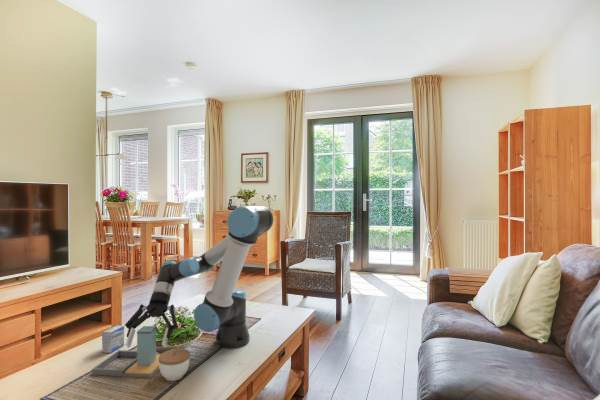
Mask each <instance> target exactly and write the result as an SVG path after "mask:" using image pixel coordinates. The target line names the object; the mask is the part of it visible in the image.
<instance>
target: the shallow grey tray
mask: <svg viewBox="0 0 600 400" xmlns="http://www.w3.org/2000/svg"><path fill="white" fill-rule="evenodd" d="M119 357H128V358H129V357H130V358H134V359H133V360H132V361H130V362H129V363H128V364H126V365H125V366H124V367H123V368H122V369H119V368H118V369H117V368H105V367H106V366H108V365H109V364H110V363H112V362H114V361H115V360H116V359H117V358H119ZM136 362H137V350H126V349H125V350H122V349H121V350H120V349H117V350H116V351H114V352H113V353H112V354H111V355H109V356H108V357H107V358H106V359H103V361H101V362H100V363H98V364H97V365H96V366H94V367H93V368H91V375H93V376H108V377H109V376H111V377H112V376H113V377H123V376H122V374H123V373H125V371H126V370H128V369H129V368H130V367H131V366H132V365H134V364H135V363H136Z"/></svg>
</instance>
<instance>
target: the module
mask: <svg viewBox="0 0 600 400" xmlns="http://www.w3.org/2000/svg"><path fill="white" fill-rule="evenodd" d="M136 333H137V334H136V336H137V337H136V339H137V340H136V351H137V366H151V365H152V364H153V363H154V361H155V360H156V354H157V326H155V325H150V326H149V325H143V326H142V327H140V329H138V330H137V331H136Z"/></svg>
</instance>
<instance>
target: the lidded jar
mask: <svg viewBox="0 0 600 400" xmlns="http://www.w3.org/2000/svg"><path fill="white" fill-rule="evenodd" d="M190 363H191V352H190V350H188V349H185V348H173V349H169V350H165V351H163V352H162V353H160V356H159V373H160V374H161V375H162V377H163V378H165V380H166V381H170V382H172V381H173V382H174V381H178V380H180V379H182V378H183V377H184V375H186V373H187V372H188V370H189V367H190Z"/></svg>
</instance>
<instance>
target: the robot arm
mask: <svg viewBox="0 0 600 400" xmlns="http://www.w3.org/2000/svg"><path fill="white" fill-rule="evenodd" d="M273 224H274V215H273V213H272V210H270V209H269V208H268V207H267V206H265V205H264V206H263V205H242V206H238V207H236V208H234V209H232V211H231V212H230V214H229V215H228V217H227V223H226V225H227V229H228V233H227V235H226V236H225V237H223V238H222V239H221V240H220V241H219V242H218V243H216V244H214V245H213V246H212V247H211V248H209V249H208V250H207V251H205V252H204V253H202V254H201V255H200V256H196V257H188V258H184V259H182V260H181V261H178V262H176V261H173V260H166V261H164V262H163V263H162V264H161V266H160V268H159V270H158V271H159V272H158V275H157V277H156V281H155V284H154V287H153V289H152V293H151V296H150V299H149V303H148V305H144V304H140V305H139V307H138V309H137V310H136V312H134V313H133V315H132V316H131V317H130V318H129V319H128V321H126V322H125V324H124V327H126V329H127V333H126V338H127V339H126V343H124V346H126V347H127V348H131V345H132V342H133V339H134V336H135V334H136V330H135V329H137V328H138V327H139V326H140V325H141V324H143V323H144V322H145V321H146V320H147V319H149V318H160V317H161V318H162V319H163V320H164V322H165V324H166V326H167V327H166V328H165V331H164V334H163V338H162V342H161V346H162V348H166V347H167V344H168V341H169V339H171V338H172V334H173V331H174V330H178V329H179V324H178V321H177V317H176V313H175V311H176V307H175V305H174V304H171V305H169V304H170V300H171V296H172V293H173V289H174V287H175V283H176V282H178V281H180V280H183V279H186V278H190V277H194V276H195V275H199V274H202V273H207V272H210V271H212V270H214V269H215V268H216V266H217V265H218V264H219V263H221V264H220V265H219V268H218V271H217V273H216V274H217V275H216V277H215V280H214V281H213V282H214V283H213V285H212V288H211V290H209V291H207V292H206V293H205V296H204V299H203V301H202V303H199V304H198V305H197V306H195V308H194V312H193V318H194V321H195V324H196V325H197V327H198V328H199V329H200V330H202V331H203V332H206V333H211V332H213V331H216V334H215V338H214V340H215V341H214V342H215V345H216V346H218V347H219V348H224V349H233V348H240V347H243V346H245V345H247V344H248V343H249V342H250V332H249V329H248V327H247V323H246V322H247V321H246V320H247V317H246V316H247V314H246V313H247V311H246V310H247V307H246V306H247V303H246V302H247V295H246V291H244V290H242V289H238V288H236V285H237V283H238V280H239V278H240V275H241V273H242V271H243V267H244V264H245V262H246V259H247V257H248V254H249V252H250V250H251V249H250V248H251V247H252V246H253V245H255V244H256V243H257V241H258V239H259V237H260V236H262V235H263V234H266V233H267V232H269V231H270V229H272V227H273ZM167 311H169V313H170V316H171V321H172V324H171V322H170V320H169V319H168V317H167V315H166V314H165V313H166V312H167Z"/></svg>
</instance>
